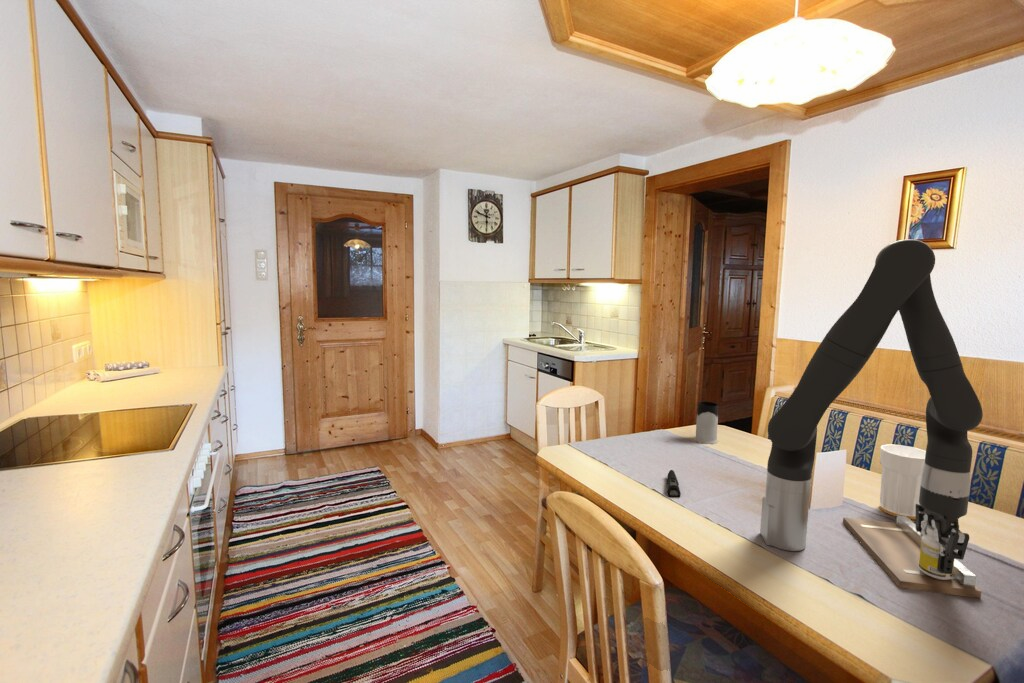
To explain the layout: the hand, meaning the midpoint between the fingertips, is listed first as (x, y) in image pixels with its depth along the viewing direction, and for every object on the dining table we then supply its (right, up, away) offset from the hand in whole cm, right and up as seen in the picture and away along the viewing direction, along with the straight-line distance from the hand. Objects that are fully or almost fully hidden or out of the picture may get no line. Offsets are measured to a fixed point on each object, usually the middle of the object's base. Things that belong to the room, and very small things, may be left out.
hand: (935, 564), depth 102 cm
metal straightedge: (+7, -1, +9) cm, 11 cm away
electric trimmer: (-40, +1, +47) cm, 62 cm away
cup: (+18, 0, +32) cm, 37 cm away
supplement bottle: (0, -2, 0) cm, 2 cm away
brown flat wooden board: (+1, -3, +10) cm, 11 cm away
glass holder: (-11, +7, +94) cm, 95 cm away
